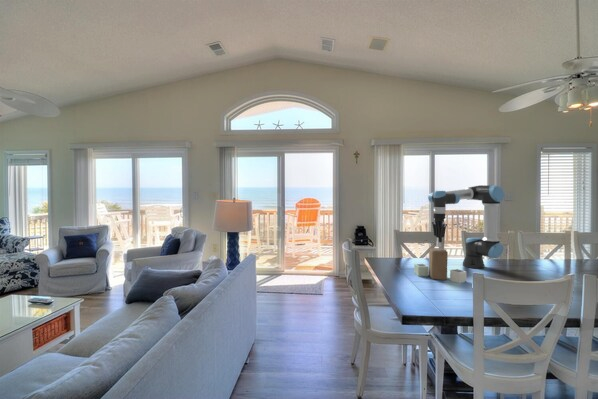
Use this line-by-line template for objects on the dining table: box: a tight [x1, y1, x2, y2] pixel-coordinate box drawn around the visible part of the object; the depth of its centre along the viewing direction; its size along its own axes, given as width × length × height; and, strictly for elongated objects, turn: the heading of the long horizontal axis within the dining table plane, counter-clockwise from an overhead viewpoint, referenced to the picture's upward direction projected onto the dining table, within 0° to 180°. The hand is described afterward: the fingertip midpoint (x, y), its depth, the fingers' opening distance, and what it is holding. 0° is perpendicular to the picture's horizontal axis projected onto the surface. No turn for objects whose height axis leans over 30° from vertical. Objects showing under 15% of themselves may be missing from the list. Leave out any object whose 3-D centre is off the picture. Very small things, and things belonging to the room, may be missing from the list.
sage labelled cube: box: [413, 263, 429, 277], centre depth 223 cm, size 7×7×7 cm
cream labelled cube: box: [449, 268, 467, 284], centre depth 209 cm, size 7×7×7 cm
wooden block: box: [428, 247, 449, 281], centre depth 215 cm, size 10×10×20 cm
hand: (438, 246), depth 215 cm, fingers closed
